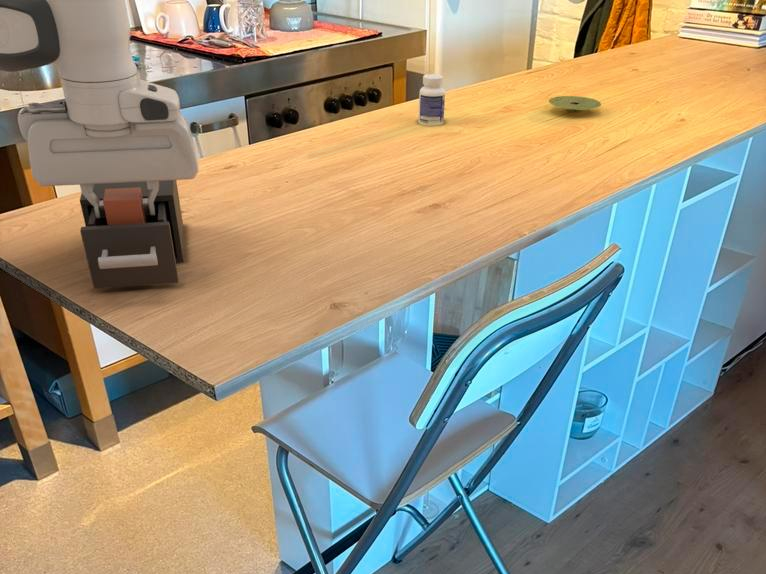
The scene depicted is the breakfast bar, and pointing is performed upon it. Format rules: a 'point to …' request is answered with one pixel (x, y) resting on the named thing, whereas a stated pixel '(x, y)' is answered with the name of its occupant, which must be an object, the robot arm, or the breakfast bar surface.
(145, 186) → the cabinet
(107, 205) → the block
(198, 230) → the breakfast bar surface
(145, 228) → the drawer
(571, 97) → the grey green disc
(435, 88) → the pill bottle
